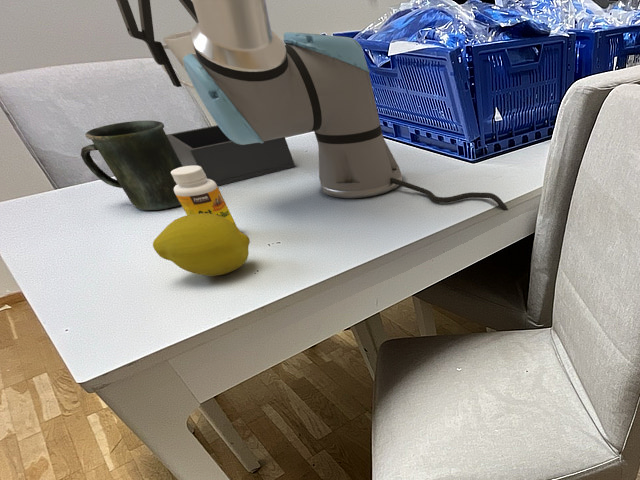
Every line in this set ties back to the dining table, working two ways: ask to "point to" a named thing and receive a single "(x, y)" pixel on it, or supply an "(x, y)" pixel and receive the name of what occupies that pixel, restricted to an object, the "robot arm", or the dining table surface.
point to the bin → (229, 155)
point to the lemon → (203, 244)
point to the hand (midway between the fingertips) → (201, 82)
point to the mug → (136, 162)
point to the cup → (180, 48)
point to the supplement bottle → (199, 192)
